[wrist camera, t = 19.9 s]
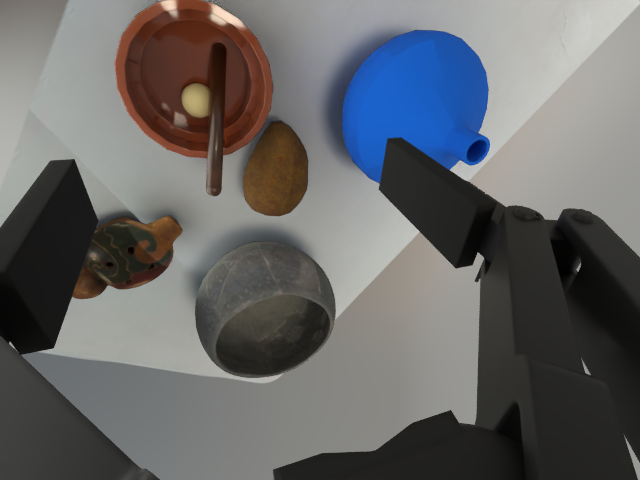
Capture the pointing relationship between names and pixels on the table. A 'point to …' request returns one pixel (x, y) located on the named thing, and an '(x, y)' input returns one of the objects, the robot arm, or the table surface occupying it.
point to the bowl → (264, 310)
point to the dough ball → (196, 100)
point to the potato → (276, 172)
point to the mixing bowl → (191, 74)
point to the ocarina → (126, 255)
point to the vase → (417, 101)
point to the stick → (216, 119)
